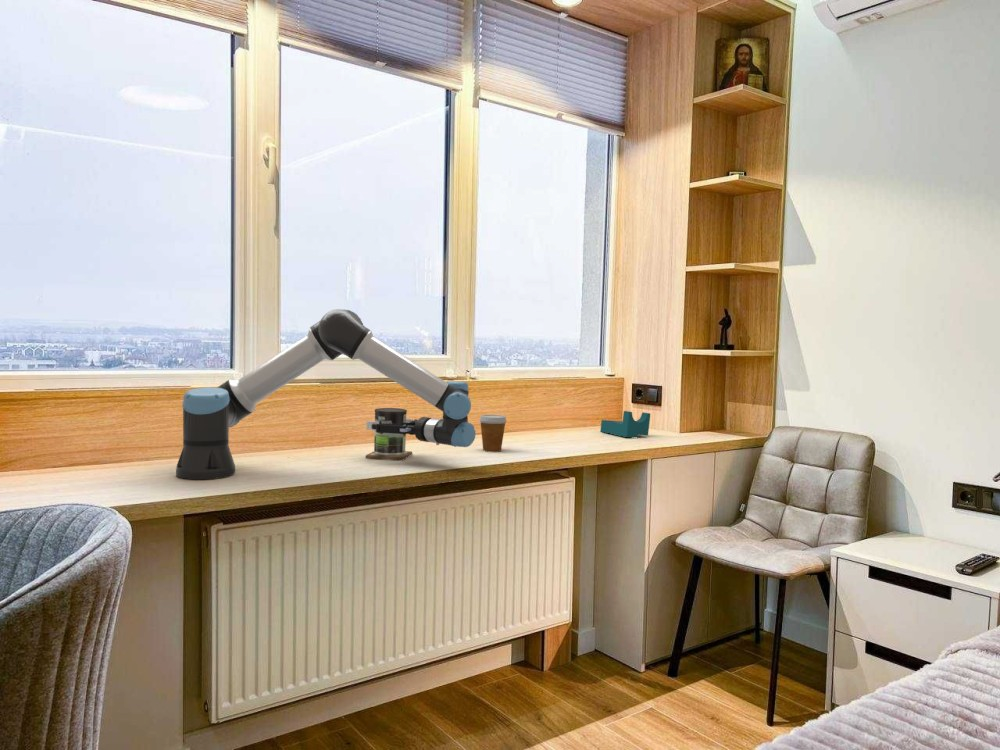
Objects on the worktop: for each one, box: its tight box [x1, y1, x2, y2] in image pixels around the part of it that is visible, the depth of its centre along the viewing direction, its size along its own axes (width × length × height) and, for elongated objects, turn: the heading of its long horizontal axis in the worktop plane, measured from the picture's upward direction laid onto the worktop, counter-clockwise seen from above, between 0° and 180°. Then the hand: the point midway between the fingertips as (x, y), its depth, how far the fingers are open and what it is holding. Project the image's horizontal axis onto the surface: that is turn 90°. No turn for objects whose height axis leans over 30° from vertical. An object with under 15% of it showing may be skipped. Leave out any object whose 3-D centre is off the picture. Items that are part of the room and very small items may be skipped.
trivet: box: [365, 450, 413, 461], centre depth 242 cm, size 12×12×1 cm
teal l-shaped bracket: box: [599, 410, 651, 438], centre depth 309 cm, size 18×11×10 cm, turn 28°
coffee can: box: [373, 407, 408, 455], centre depth 241 cm, size 10×10×14 cm
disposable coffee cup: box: [478, 414, 508, 452], centre depth 260 cm, size 10×10×12 cm
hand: (382, 423), depth 243 cm, fingers open, 13 cm apart
